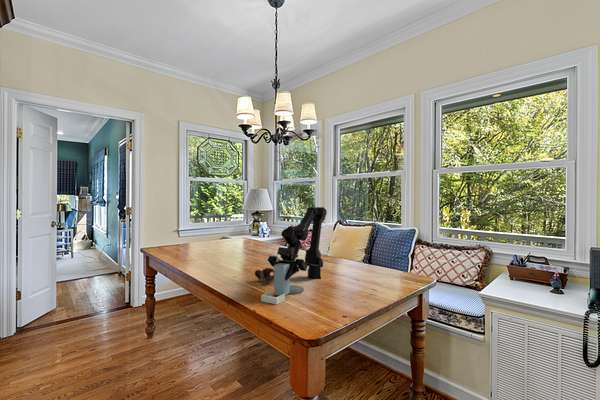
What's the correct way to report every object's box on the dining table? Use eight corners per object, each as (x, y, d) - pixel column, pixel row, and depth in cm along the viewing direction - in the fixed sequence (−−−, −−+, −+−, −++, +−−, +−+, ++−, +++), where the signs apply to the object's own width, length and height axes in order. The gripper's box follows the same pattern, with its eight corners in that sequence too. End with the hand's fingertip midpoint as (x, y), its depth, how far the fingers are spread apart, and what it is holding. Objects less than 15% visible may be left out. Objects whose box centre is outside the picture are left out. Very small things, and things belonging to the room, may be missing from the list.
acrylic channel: (270, 296, 128) (270, 290, 128) (285, 299, 124) (285, 293, 124) (261, 301, 122) (261, 295, 122) (276, 304, 118) (276, 298, 118)
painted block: (280, 291, 133) (280, 262, 133) (289, 292, 130) (289, 264, 130) (274, 294, 128) (274, 265, 128) (283, 296, 126) (283, 266, 126)
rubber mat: (302, 286, 144) (302, 284, 144) (305, 293, 132) (305, 292, 132) (278, 286, 142) (278, 285, 142) (279, 294, 130) (279, 293, 130)
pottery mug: (277, 280, 155) (279, 269, 151) (271, 293, 147) (273, 281, 143) (257, 273, 157) (258, 262, 153) (249, 285, 149) (250, 274, 145)
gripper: (269, 238, 137) (255, 266, 128) (304, 241, 128) (292, 272, 119) (278, 252, 144) (265, 279, 135) (312, 256, 135) (301, 285, 126)
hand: (280, 279), depth 128 cm, fingers closed on painted block, 5 cm apart
